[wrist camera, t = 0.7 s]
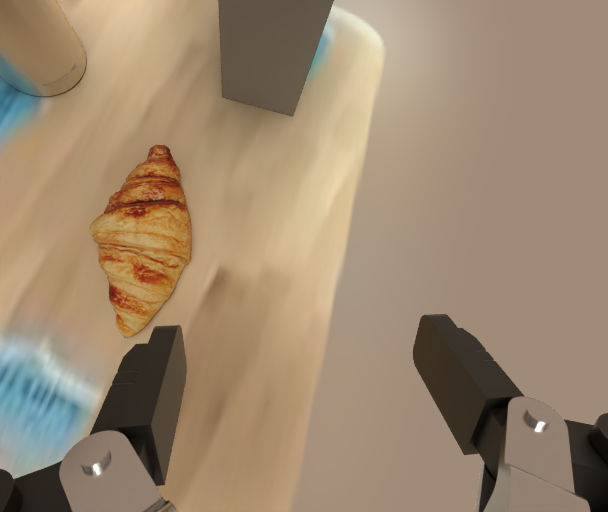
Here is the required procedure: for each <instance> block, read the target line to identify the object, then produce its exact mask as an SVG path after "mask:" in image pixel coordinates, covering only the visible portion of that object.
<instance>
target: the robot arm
mask: <svg viewBox="0 0 608 512" xmlns="http://www.w3.org/2000/svg"><path fill="white" fill-rule="evenodd" d="M85 67H86V54H85V50H84V48H83V45H82V43H81V42H80V40H79V38H78V37H77V35H76V33H75V31H74V30H73V28H72V26H71V25H70V23H69V21H68V19H67V18H66V16H65V14H64V13H63V11H62V9H61V7H60V6H59V4H58V2H57V1H56V0H0V76H1V77H2V78H3V79H4V80H5V81H6V82H7V83H8V84H10V85H11V86H12V87H14V88H15V89H17V90H19V91H21V92H24V93H26V94H30V95H34V96H53V95H57V94H60V93H63V92H65V91H67V90H69V89H71V88H72V87H73V86H74V85H75V84H77V83H78V81H79V80H80V79H81V77H82V76H83V73H84V71H85ZM413 360H414V364H415V366H416V368H417V370H418V372H419V374H420V375H421V377H422V379H423V381H424V383H425V385H426V386H427V388H428V390H429V392H430V394H431V396H432V397H433V399H434V401H435V403H436V405H437V407H438V408H439V410H440V412H441V414H442V416H443V417H444V419H445V421H446V422H447V425H448V427H449V428H450V430H451V432H452V434H453V435H454V437H455V439H456V441H457V443H458V445H459V446H460V448H461V450H462V452H463V454H464V455H469V454H478V453H479V454H480V456H481V457H482V459H483V462H482V464H481V468H480V475H479V483H478V490H477V498H476V506H475V512H608V413H606V414H603V415H601V416H600V417H599V418H598V420H597V421H596V423H595V425H589V424H584V423H579V422H574V421H569V420H564V419H563V418H562V417H561V416H560V415H559V414H558V413H557V412H556V411H555V410H554V409H552V408H551V407H550V406H548V405H547V404H545V403H543V402H541V401H539V400H536V399H534V398H530V397H525V396H524V395H523V394H522V393H521V391H520V390H519V389H518V388H517V387H516V385H515V384H514V383H513V382H512V381H511V379H510V378H509V377H508V376H507V375H506V373H505V372H504V371H503V370H502V369H501V367H500V366H499V365H498V364H497V363H496V362H495V361H494V360H493V358H492V357H491V355H490V354H489V353H488V352H486V350H485V348H484V347H483V346H482V344H481V343H480V342H479V341H478V340H477V339H476V338H475V337H474V336H473V335H471V334H470V333H468V332H467V331H465V330H464V329H463V328H457V327H456V325H455V324H454V323H453V321H452V320H451V319H450V318H449V317H448V315H446V314H434V315H424V316H422V317H421V320H420V323H419V328H418V332H417V335H416V340H415V344H414V348H413ZM186 369H187V367H186V357H185V349H184V342H183V335H182V329H181V326H180V325H176V326H156V327H154V329H153V332H152V334H151V337H150V340H149V342H148V344H136V345H135V346H134V347H133V348H132V349H131V350H130V351H129V352H128V353H127V354H126V355H125V356H124V357H123V359H122V362H121V364H120V366H119V369H118V373H117V374H116V376H115V378H114V380H113V382H112V386H111V387H110V389H109V392H108V394H107V396H106V399H105V401H104V403H103V406H102V408H101V410H100V412H99V415H98V417H97V419H96V422H95V424H94V426H93V429H92V431H91V433H90V435H89V436H88V437H86V438H84V439H83V440H81V441H80V442H78V443H77V444H76V445H75V446H74V447H73V448H72V449H71V450H70V451H69V452H68V453H67V454H66V456H65V457H64V459H63V460H62V461H60V462H58V463H56V464H54V465H52V466H49V467H47V468H44V469H41V470H38V471H35V472H33V473H30V474H27V475H24V476H22V477H19V478H16V479H13V477H12V476H11V474H10V473H9V472H7V471H5V470H2V469H0V512H178V511H177V509H176V508H175V506H174V505H173V504H172V503H171V502H170V501H165V499H164V498H163V497H162V495H161V493H160V492H159V490H158V488H157V487H156V486H160V485H165V480H166V475H167V470H168V466H169V461H170V456H171V451H172V446H173V441H174V436H175V431H176V426H177V421H178V416H179V411H180V407H181V402H182V397H183V392H184V387H185V382H186Z"/></svg>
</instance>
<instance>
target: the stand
mask: <svg viewBox="0 0 608 512" xmlns="http://www.w3.org/2000/svg"><path fill="white" fill-rule="evenodd" d="M333 1H334V0H218V2H219V26H220V50H221V74H222V97H224V98H227V99H231V100H235V101H238V102H242V103H246V104H249V105H253V106H257V107H261V108H264V109H268V110H272V111H275V112H279V113H283V114H286V115H290V116H293V115H294V112H295V109H296V106H297V104H298V101H299V98H300V95H301V92H302V89H303V86H304V84H305V81H306V78H307V75H308V72H309V69H310V67H311V64H312V61H313V58H314V55H315V52H316V49H317V47H318V44H319V41H320V38H321V35H322V32H323V30H324V27H325V24H326V21H327V18H328V15H329V13H330V10H331V7H332V4H333Z"/></svg>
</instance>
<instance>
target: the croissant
mask: <svg viewBox="0 0 608 512" xmlns="http://www.w3.org/2000/svg"><path fill="white" fill-rule="evenodd" d="M179 182H180V172H179V168H178V167H177V165H176V164H175V162H174V160H173V158H172V155H171V153H170V150H169V148H168V147H166V146H165V145H155V146H153V147H151V148H150V150H149V154H148V158H147V161H146V162H144V163H141V164H139V165H138V166H137V167H136V168H135V169H134V170H133V171H132V172H131V173H130V175H129V176H128V177H127V178H126V182H125V183H124V184H123V186H122V188H121V190H120V191H119V192H116V193H115V194H114V195H113V196H111V197H110V198H109V203H108V205H107V207H106V210H105V212H104V214H103V215H101V216H100V217H98V218H97V219H96V220H95V221H94V222H93V223H92V224H91V225H90V231H89V232H90V234H91V235H92V237H93V238H94V240H95V241H96V242H98V243H99V244H100V245H99V250H98V252H99V263H100V265H101V267H102V268H103V269H104V270H105V273H106V275H107V277H108V280H109V299H110V302H111V303H112V305H113V306H114V310H115V312H116V313H117V317H116V326H117V327H118V329H119V330H120V332H121V334H122V335H123V336H124V337H130V336H133V335H135V334H137V333H138V332H139V331H140V330H141V329H143V328H144V327H145V325H147V324H148V322H149V321H150V319H151V318H152V317H153V315H154V314H155V313H156V312H158V310H159V309H160V308H161V307H162V305H163V304H164V302H165V301H166V300H168V298H169V297H170V295H171V293H172V291H174V289H175V287H176V282H177V280H178V278H179V276H180V275H181V272H182V269H183V268H184V266H186V265H188V263H189V262H190V260H191V221H190V216H189V212H188V209H187V205H186V201H185V196H184V192H183V190H182V187H181V185H180V183H179Z"/></svg>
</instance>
